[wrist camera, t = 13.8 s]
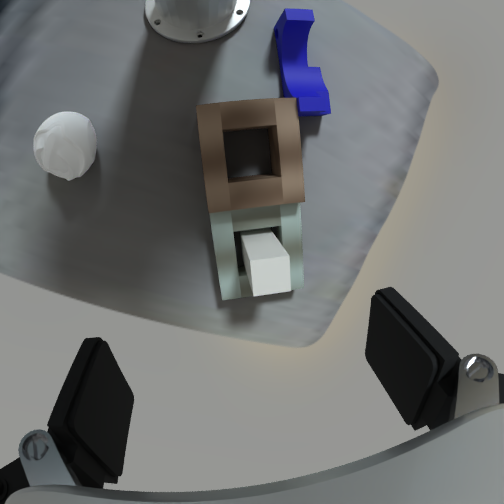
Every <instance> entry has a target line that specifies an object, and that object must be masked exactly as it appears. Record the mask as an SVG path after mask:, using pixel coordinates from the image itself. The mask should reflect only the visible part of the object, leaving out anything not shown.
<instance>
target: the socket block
mask: <svg viewBox="0 0 504 504" xmlns="http://www.w3.org/2000/svg"><path fill="white" fill-rule="evenodd" d="M196 111H197V121H198V130H199V139H200V148H201V157H202V165H203V173H204V181H205V189H206V197H207V204H208V212H209V214H210V221H211V228H212V235H213V242H214V249H215V256H216V263H217V269H218V276H219V282H220V288H221V295H222V300H229V299H236V298H243V297H250V296H253V293H252V289H251V286H250V283H249V279H248V276H247V272H246V269H245V266H240V267H237V259H236V251H235V242H234V234H233V232H235V231H243V230H250V229H258V228H266V227H274V226H277V239H278V240H279V242H280V243H281V245H282V246H283V247H284V249H285V250H286V252H287V253H288V254H289V256H290V280H291V290H295V289H301V288H304V276H303V250H302V229H301V211H300V202H305V193H304V178H303V164H302V152H301V140H300V129H299V119H298V109H297V100H296V98H270V99H254V100H241V101H230V102H220V103H212V104H204V105H196ZM265 128H268V136H269V146H270V156H271V167H272V174H262V175H252V176H243V177H235V178H228V177H227V168H226V159H225V150H224V141H223V132H232V131H241V130H252V129H265Z"/></svg>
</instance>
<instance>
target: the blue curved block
mask: <svg viewBox="0 0 504 504" xmlns="http://www.w3.org/2000/svg"><path fill="white" fill-rule="evenodd" d="M314 21H315V20H314V15H313V10H307V9H284V11H283V13H282V14H281V16H280V18H279V20H278V21H277V23H276V25H275V27H274V31H275V37H276V44H277V51H278V58H279V65H280V72H281V79H282V87H283V94H284V98H296V100H297V109H298V117H299V116H323V115H327V114H331V109H330V101H329V93H328V90H327V88H326V86H325V84H324V82H323V79H322V75H321V70H320V67H308V64H307V41H308V35H309V31H310V28H311V26H312V24H313V22H314Z"/></svg>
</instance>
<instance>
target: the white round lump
mask: <svg viewBox="0 0 504 504" xmlns="http://www.w3.org/2000/svg"><path fill="white" fill-rule="evenodd" d="M96 150H97V137H96V133H95V130H94V128H93V126H92V123H91V121H90V120H89V119H88V118H87V117H85V116H83V115H81V114H79V113H76V112H60V113H57V114H54V115H52V116H51V117H49V118H48V119H46V120H45V121H44V122H43V123H42V125H41V126H40V127H39V129H38V130H37V132H36V134H35V137H34V154H35V158H36V160H37V162H38V164H39V165H40V166H41V167H42V169H43V170H44V171H45V172H50V173H52V174H53V175H55V176H58V177H61V178H65V179H67V180H68V181H70V180H72V179H74V178H76V177H81V176H82V175H83V174H84V173H85V172H86V171H87V170H88V169H89V168H90V166H91V165H92V163H93V162H94V160H95V154H96Z"/></svg>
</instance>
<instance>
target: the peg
mask: <svg viewBox="0 0 504 504" xmlns="http://www.w3.org/2000/svg"><path fill="white" fill-rule="evenodd" d="M240 238H241V247H242V257H243V262H244V265H245V269H246V272H247V276H248V279H249V283H250V286H251V289H252V293H253V296H260V295H267V294H274V293H281V292H288V291H291V280H290V256H289V254H288V253H287V252H286V250H285V249H284V247H283V246H282V245H281V243H280V242H279V240H278V239H277V238H276V236H275V235H274V234H273V232H272V231H271V229H270V228H263V229H255V230H247V231H240Z"/></svg>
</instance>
